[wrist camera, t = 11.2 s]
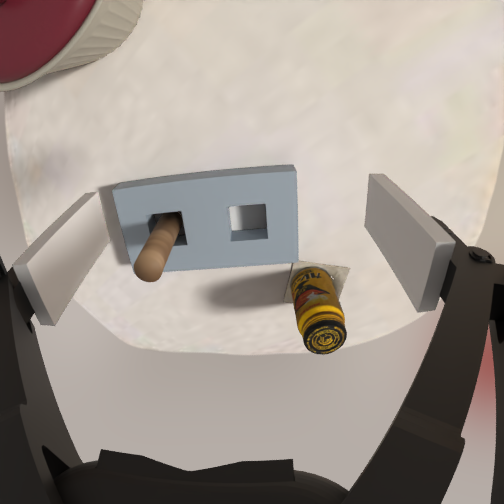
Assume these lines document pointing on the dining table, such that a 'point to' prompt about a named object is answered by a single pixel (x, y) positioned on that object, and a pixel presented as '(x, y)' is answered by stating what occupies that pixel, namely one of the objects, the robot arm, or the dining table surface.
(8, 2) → the canister
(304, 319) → the condiment
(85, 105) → the dining table surface
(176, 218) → the peg
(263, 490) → the robot arm
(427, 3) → the dining table surface
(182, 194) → the hole block
